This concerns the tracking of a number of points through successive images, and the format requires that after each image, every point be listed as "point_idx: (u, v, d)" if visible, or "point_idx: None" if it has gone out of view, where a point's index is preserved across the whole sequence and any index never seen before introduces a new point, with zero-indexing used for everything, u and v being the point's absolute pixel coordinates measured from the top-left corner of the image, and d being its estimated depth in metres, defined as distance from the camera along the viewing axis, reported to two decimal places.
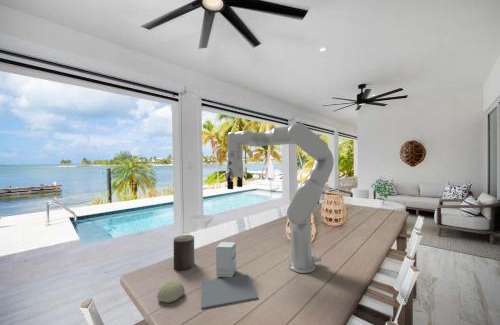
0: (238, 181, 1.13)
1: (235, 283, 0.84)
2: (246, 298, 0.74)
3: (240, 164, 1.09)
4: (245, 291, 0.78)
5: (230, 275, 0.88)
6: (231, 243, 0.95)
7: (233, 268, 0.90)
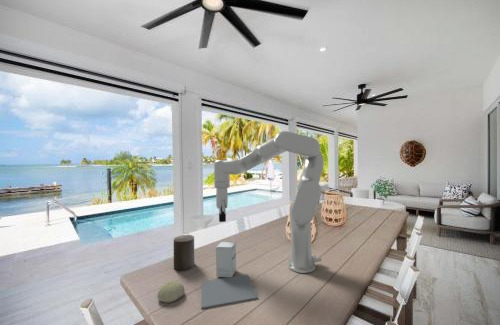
0: None
1: (235, 283, 0.84)
2: (246, 298, 0.74)
3: (216, 194, 1.02)
4: (245, 291, 0.78)
5: (230, 275, 0.88)
6: (230, 243, 0.95)
7: (233, 268, 0.90)
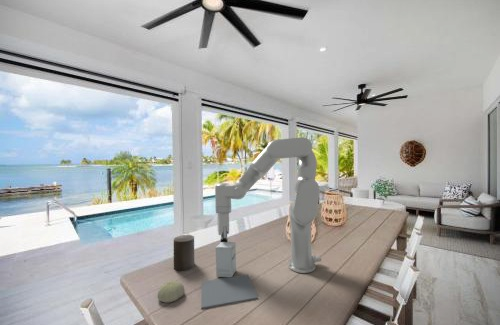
0: None
1: (235, 283, 0.84)
2: (246, 298, 0.74)
3: None
4: (245, 291, 0.78)
5: (230, 275, 0.88)
6: (230, 243, 0.94)
7: (233, 268, 0.90)
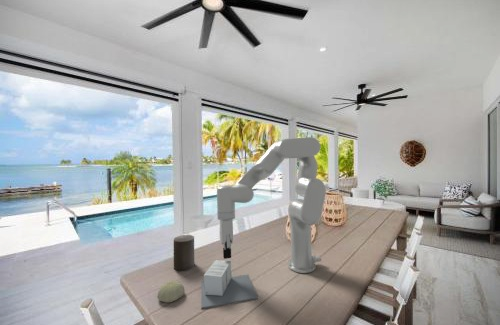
0: None
1: (235, 283, 0.84)
2: (246, 298, 0.74)
3: (220, 226, 0.87)
4: (245, 291, 0.78)
5: None
6: (217, 281, 0.76)
7: (229, 276, 0.85)
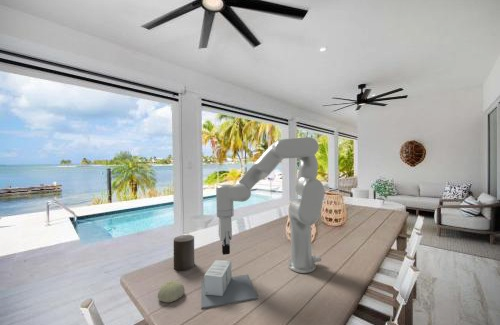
0: None
1: (235, 283, 0.84)
2: (246, 298, 0.74)
3: (219, 224, 0.91)
4: (245, 291, 0.78)
5: None
6: (217, 281, 0.76)
7: (230, 276, 0.85)
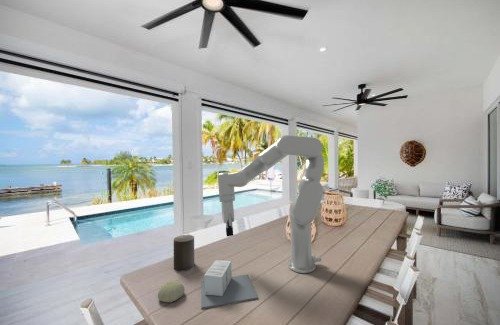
0: None
1: (235, 283, 0.84)
2: (246, 298, 0.74)
3: (222, 208, 0.99)
4: (245, 291, 0.78)
5: None
6: (217, 281, 0.76)
7: (230, 276, 0.85)
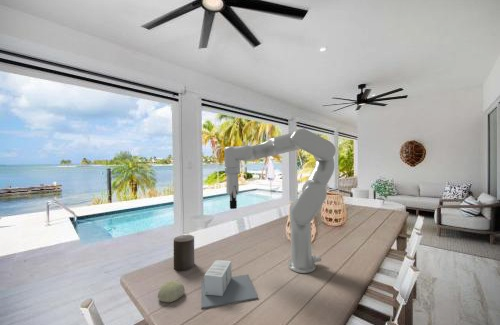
0: None
1: (235, 283, 0.84)
2: (246, 298, 0.74)
3: (227, 181, 1.01)
4: (245, 291, 0.78)
5: None
6: (217, 281, 0.76)
7: (230, 276, 0.85)
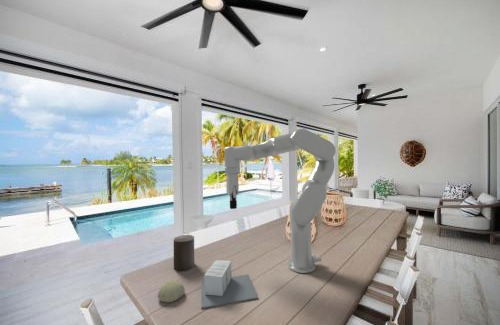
0: None
1: (235, 283, 0.84)
2: (246, 298, 0.74)
3: (227, 181, 1.01)
4: (245, 291, 0.78)
5: None
6: (217, 281, 0.76)
7: (230, 276, 0.85)
